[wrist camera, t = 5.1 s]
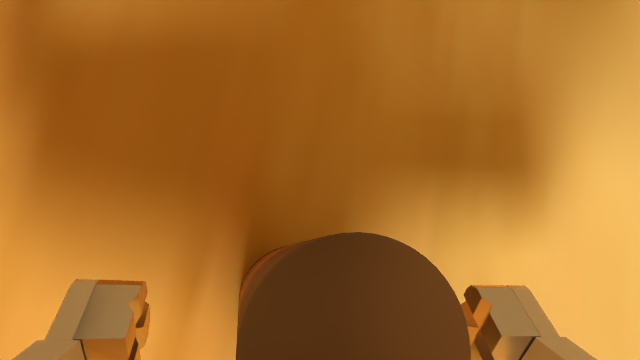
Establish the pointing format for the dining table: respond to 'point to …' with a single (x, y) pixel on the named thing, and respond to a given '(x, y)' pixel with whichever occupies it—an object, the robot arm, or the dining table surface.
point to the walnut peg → (349, 304)
